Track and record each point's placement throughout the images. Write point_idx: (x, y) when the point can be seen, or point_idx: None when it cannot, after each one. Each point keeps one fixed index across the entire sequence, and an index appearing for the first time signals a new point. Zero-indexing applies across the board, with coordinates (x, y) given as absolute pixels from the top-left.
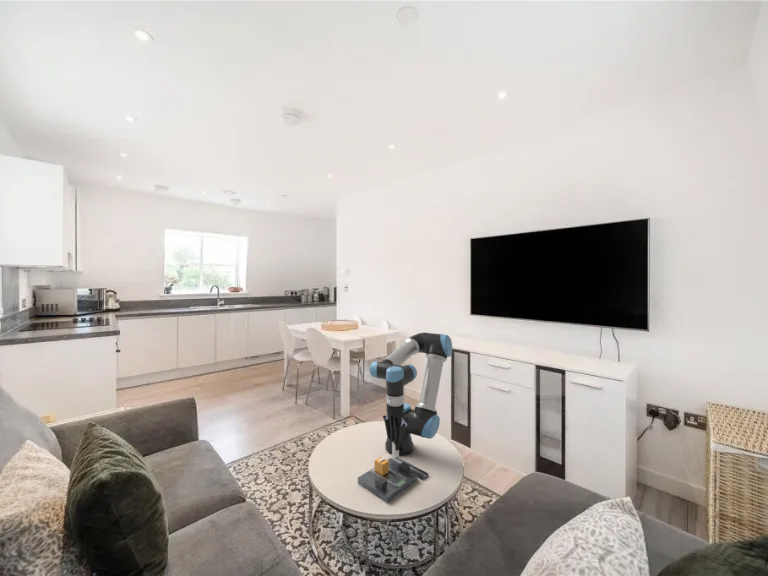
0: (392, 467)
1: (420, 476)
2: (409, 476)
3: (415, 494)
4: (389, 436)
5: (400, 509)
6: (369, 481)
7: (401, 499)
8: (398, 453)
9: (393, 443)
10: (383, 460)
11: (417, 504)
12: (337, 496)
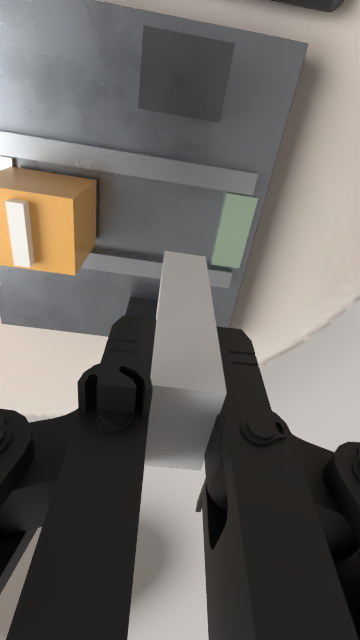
0: (70, 88)
1: (314, 3)
2: (251, 115)
3: (319, 201)
4: (26, 540)
5: (285, 328)
6: (73, 313)
7: (263, 277)
8: (206, 275)
9: (173, 460)
10: (32, 220)
11: (351, 262)
12: (32, 397)
